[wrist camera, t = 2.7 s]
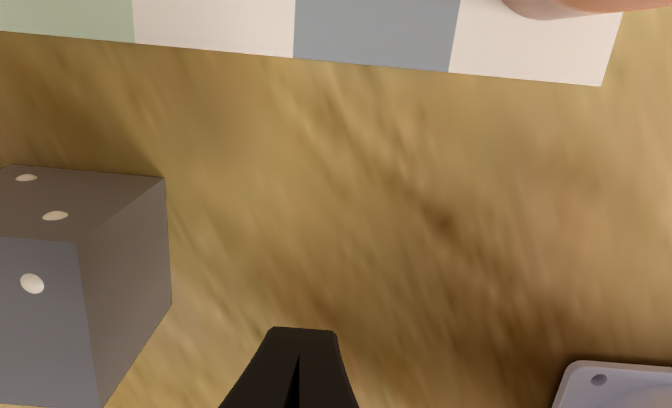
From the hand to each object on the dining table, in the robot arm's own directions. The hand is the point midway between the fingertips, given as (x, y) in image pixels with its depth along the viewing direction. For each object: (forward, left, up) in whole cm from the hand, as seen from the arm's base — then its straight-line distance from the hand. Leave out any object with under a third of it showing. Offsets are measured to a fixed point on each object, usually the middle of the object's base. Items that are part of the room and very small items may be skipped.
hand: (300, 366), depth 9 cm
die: (+7, 0, -5) cm, 9 cm away
